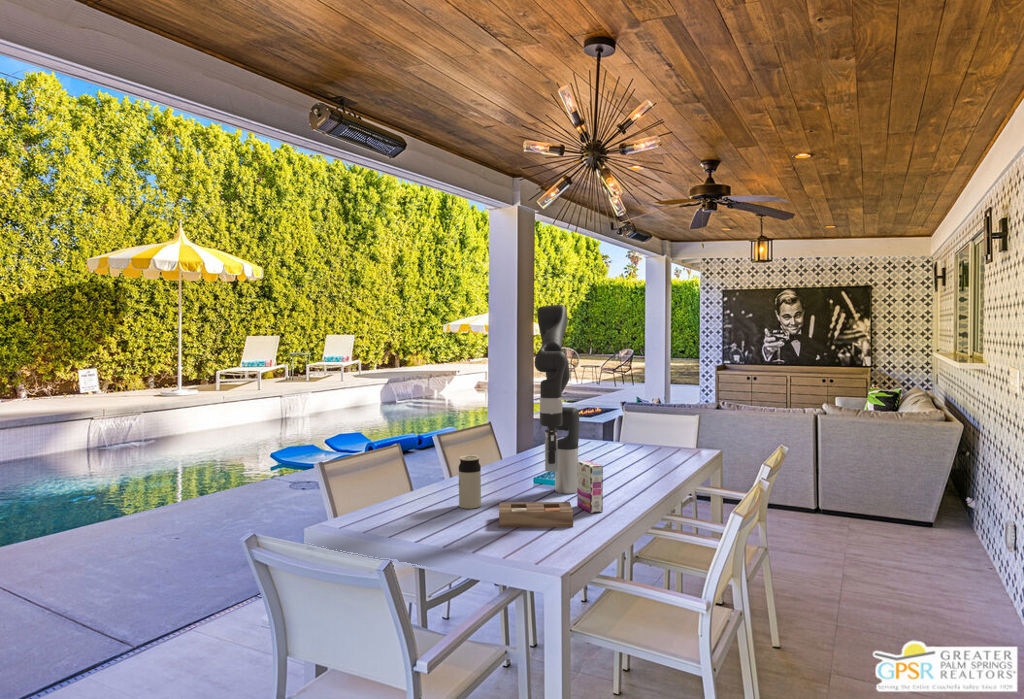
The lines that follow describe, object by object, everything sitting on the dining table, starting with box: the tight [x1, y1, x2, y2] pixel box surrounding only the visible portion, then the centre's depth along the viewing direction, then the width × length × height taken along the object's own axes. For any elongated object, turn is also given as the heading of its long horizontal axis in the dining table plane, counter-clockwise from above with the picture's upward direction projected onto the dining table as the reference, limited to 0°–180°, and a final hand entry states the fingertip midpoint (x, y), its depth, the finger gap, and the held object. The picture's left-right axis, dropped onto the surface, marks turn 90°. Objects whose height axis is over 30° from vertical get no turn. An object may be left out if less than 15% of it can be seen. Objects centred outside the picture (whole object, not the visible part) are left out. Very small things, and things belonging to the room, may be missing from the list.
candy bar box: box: [576, 460, 604, 514], centre depth 234 cm, size 11×5×16 cm, turn 21°
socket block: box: [498, 501, 574, 528], centre depth 219 cm, size 12×24×5 cm, turn 90°
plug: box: [544, 438, 558, 473], centre depth 219 cm, size 4×4×10 cm
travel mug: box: [458, 454, 482, 510], centre depth 239 cm, size 8×8×18 cm
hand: (551, 461), depth 220 cm, fingers closed on plug, 4 cm apart
